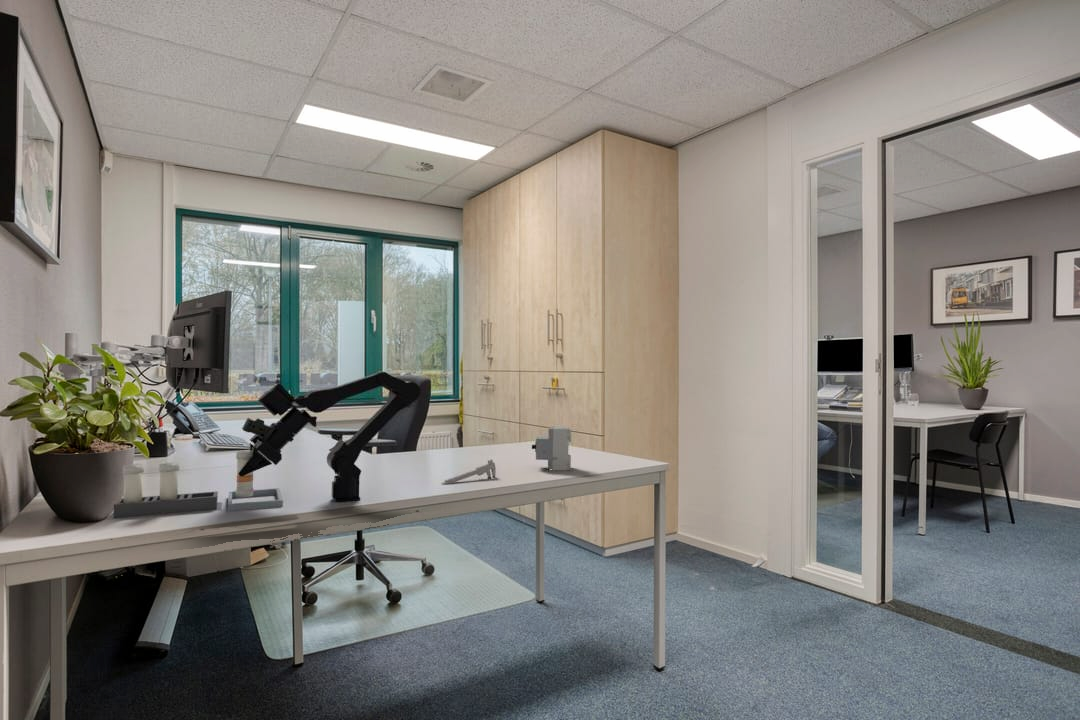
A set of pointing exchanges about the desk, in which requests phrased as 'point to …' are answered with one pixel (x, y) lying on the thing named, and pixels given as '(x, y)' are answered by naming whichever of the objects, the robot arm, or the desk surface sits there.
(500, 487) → the desk surface
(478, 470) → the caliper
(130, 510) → the grey slotted rack
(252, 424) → the robot arm
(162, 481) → the block
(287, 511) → the desk surface
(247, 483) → the marked fuse
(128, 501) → the fuse
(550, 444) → the circuit breaker
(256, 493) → the parts tray
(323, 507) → the desk surface
